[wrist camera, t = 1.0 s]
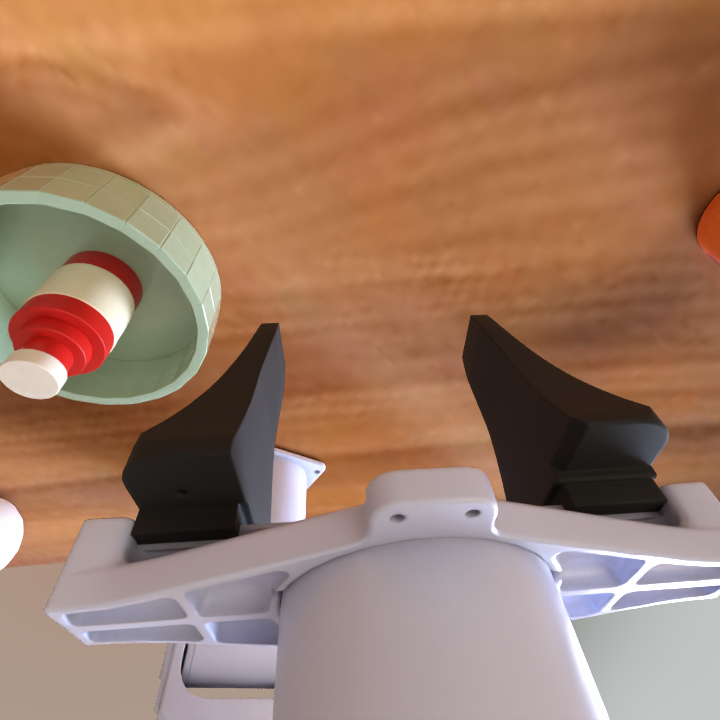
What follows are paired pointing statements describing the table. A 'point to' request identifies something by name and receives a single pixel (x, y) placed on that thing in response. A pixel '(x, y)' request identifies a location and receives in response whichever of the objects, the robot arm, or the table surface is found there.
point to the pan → (131, 245)
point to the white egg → (9, 532)
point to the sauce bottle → (70, 323)
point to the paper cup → (710, 230)
